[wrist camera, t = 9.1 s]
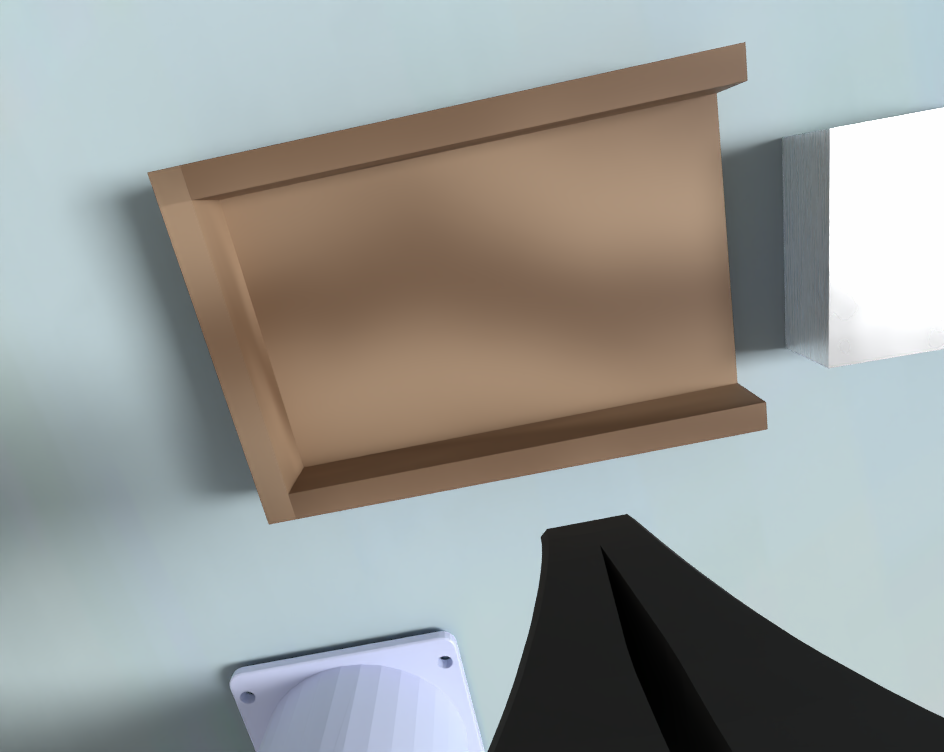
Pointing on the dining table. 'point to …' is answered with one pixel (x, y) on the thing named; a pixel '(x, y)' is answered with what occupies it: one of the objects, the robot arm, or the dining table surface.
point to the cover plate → (865, 239)
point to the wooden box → (471, 288)
